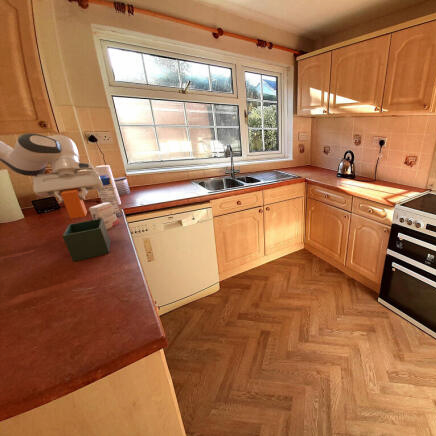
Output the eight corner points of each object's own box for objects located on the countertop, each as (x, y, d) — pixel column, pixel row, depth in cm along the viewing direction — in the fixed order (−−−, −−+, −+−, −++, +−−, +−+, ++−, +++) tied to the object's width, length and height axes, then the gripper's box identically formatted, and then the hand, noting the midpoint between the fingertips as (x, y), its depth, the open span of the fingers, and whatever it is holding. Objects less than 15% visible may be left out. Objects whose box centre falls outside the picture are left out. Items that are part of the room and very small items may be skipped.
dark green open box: (73, 261, 93) (62, 236, 89) (78, 248, 103) (68, 224, 99) (109, 252, 99) (100, 228, 94) (110, 240, 109) (102, 218, 105)
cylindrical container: (106, 205, 158) (93, 166, 148) (118, 202, 163) (106, 164, 154) (110, 207, 154) (97, 167, 145) (123, 203, 159) (111, 165, 150)
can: (119, 196, 176) (114, 180, 172) (109, 195, 180) (104, 179, 176) (134, 192, 186) (130, 176, 182) (124, 191, 190) (119, 176, 186)
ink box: (111, 223, 128) (104, 201, 124) (119, 223, 127) (112, 202, 123) (96, 230, 121) (87, 207, 116) (104, 230, 120) (96, 207, 115)
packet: (70, 218, 93) (60, 193, 89) (73, 214, 98) (63, 190, 94) (85, 216, 95) (76, 191, 91) (87, 211, 100) (78, 188, 96)
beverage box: (107, 218, 135) (94, 179, 126) (106, 213, 143) (93, 176, 134) (121, 215, 139) (109, 177, 130) (119, 210, 147) (108, 174, 138)
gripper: (27, 170, 89) (31, 201, 85) (96, 163, 99) (102, 191, 95) (36, 179, 94) (40, 210, 90) (100, 172, 105) (106, 199, 101)
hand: (72, 200), depth 93 cm, fingers closed on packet, 4 cm apart
